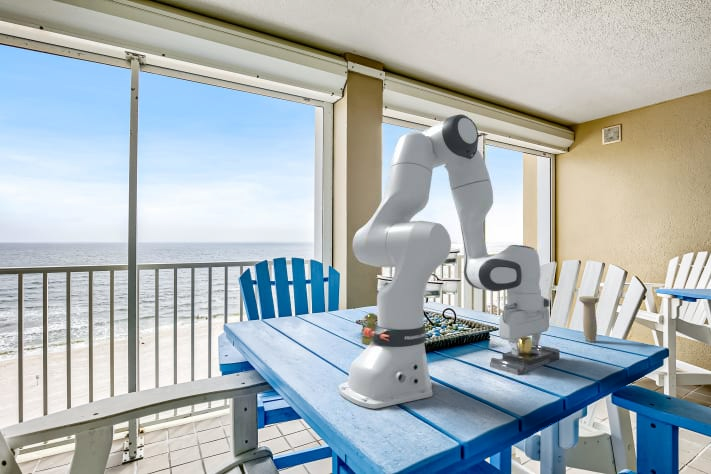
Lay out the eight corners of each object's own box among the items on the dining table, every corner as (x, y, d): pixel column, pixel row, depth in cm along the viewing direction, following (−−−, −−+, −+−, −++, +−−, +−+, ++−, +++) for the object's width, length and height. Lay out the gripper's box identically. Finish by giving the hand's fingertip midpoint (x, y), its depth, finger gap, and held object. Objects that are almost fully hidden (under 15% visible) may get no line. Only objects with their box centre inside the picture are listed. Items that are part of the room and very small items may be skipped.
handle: (577, 340, 124) (575, 297, 125) (589, 338, 127) (587, 295, 128) (591, 344, 120) (590, 298, 120) (603, 341, 123) (601, 297, 123)
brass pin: (527, 365, 100) (526, 339, 100) (516, 362, 102) (516, 337, 102) (533, 362, 101) (533, 337, 102) (522, 360, 104) (522, 335, 104)
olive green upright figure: (386, 341, 128) (385, 312, 128) (375, 346, 122) (375, 316, 122) (368, 338, 132) (367, 311, 132) (357, 343, 126) (356, 314, 126)
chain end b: (532, 370, 95) (531, 358, 95) (501, 362, 102) (500, 350, 103) (561, 359, 104) (561, 347, 104) (531, 352, 112) (530, 341, 112)
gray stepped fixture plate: (519, 375, 92) (519, 367, 92) (488, 366, 99) (488, 358, 99) (551, 363, 101) (550, 355, 101) (520, 355, 108) (520, 348, 108)
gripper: (513, 307, 94) (515, 361, 93) (553, 300, 106) (554, 347, 105) (492, 304, 99) (493, 355, 98) (531, 297, 111) (533, 343, 110)
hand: (525, 351), depth 102 cm, fingers open, 8 cm apart
